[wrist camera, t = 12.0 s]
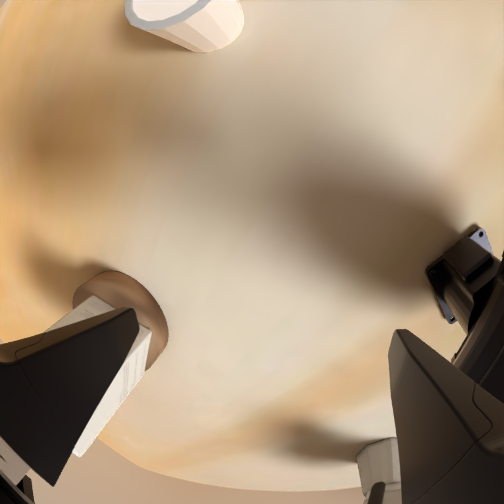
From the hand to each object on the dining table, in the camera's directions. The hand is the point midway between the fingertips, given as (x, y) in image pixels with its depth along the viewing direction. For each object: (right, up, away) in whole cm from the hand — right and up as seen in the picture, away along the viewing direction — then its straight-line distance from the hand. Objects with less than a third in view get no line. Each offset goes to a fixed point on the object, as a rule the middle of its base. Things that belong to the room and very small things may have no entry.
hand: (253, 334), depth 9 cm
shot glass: (-3, +21, +8) cm, 22 cm away
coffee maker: (+18, -24, +19) cm, 35 cm away
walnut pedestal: (-14, -4, +19) cm, 24 cm away
